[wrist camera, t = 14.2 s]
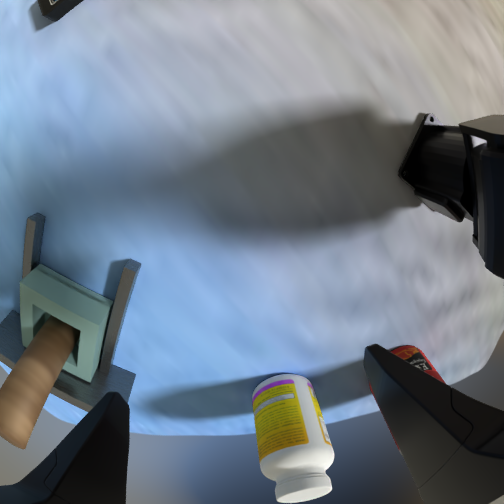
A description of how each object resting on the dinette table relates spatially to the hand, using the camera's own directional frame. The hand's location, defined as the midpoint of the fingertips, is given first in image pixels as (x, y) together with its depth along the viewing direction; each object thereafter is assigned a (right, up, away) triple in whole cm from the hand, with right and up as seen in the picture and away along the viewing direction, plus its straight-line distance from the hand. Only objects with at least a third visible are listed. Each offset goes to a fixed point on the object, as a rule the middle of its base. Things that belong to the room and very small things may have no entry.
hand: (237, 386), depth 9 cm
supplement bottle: (+4, -10, +19) cm, 22 cm away
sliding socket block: (-17, -1, +13) cm, 21 cm away
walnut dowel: (-17, -2, +12) cm, 21 cm away
